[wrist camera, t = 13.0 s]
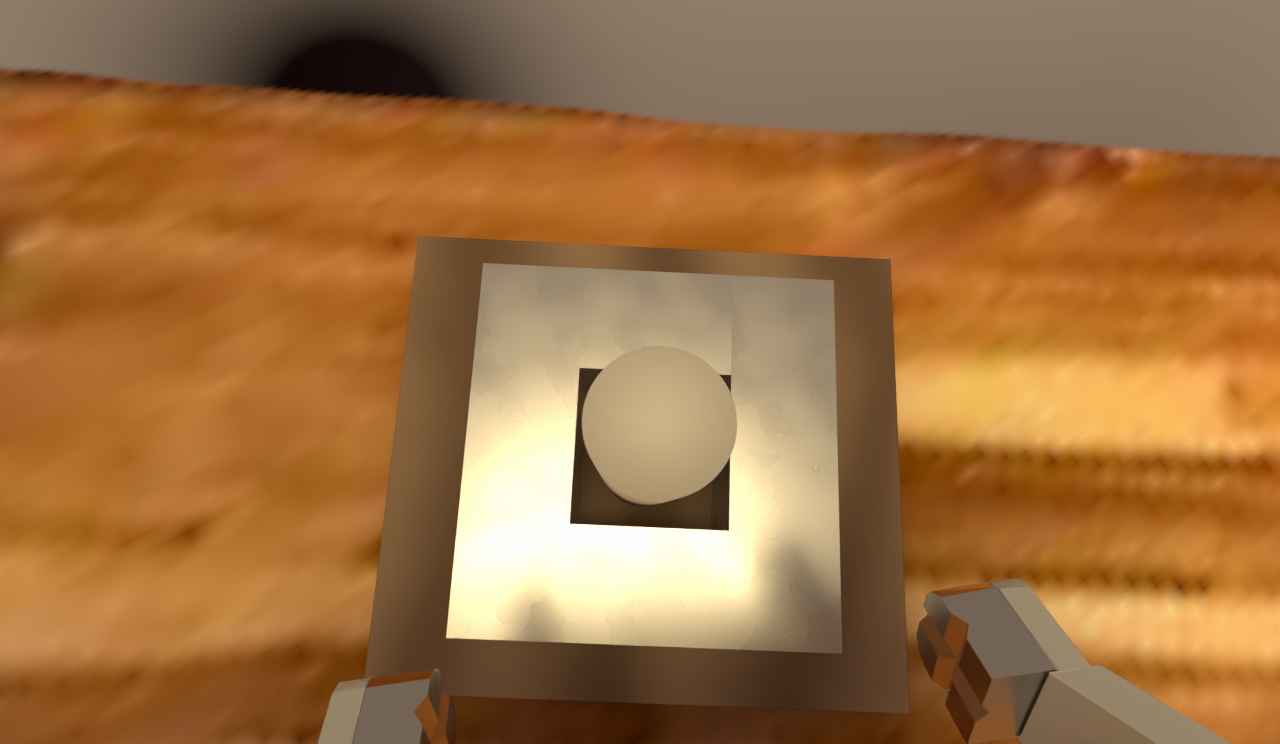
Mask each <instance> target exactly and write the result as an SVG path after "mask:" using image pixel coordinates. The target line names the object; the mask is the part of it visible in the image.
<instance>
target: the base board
mask: <svg viewBox="0 0 1280 744" xmlns="http://www.w3.org/2000/svg"><path fill="white" fill-rule="evenodd" d="M483 263H491V264H512V265H532V266H553V267H573V268H594V269H614V270H634V271H655V272H675V273H696V274H716V275H737V276H757V277H777V278H798V279H818V280H834V312H835V356H836V401H837V445H838V489H839V534H840V578H841V622H842V654H837V653H812V652H786V651H761V650H736V649H711V648H686V647H661V646H636V645H610V644H585V643H560V642H535V641H510V640H485V639H459V638H446V633H447V623H448V613H449V603H450V593H451V583H452V573H453V563H454V552H455V542H456V532H457V522H458V512H459V502H460V492H461V482H462V472H463V462H464V451H465V441H466V431H467V421H468V411H469V401H470V391H471V381H472V371H473V361H474V350H475V340H476V330H477V320H478V310H479V300H480V290H481V280H482V270H483ZM587 394H588V392H587ZM587 394H586V396H587ZM711 500H712V481H711V482H710V483H709V484H707V485H706V486H705V487H703V488H702V489H700V490H698V491H697V492H695V493H692V494H690V495H688V496H685V497H682V498H678V499H675V500H671V501H668V502H665V503H661V504H658V505H654V506H646V507H642V506H635V505H631V504H628V503H626V502H624V501H622V500H620V499H619V498H617V497H616V496H615V495H614V494H613V493H612V492H611V491H610V490H609V489H608V487H607V486H606V484H605V483H604V481H603V479H602V477H601V476H600V474H599V472H598V470H597V469H596V467H595V465H594V463H593V462H592V460H591V458H590V456H589V454H588V451H587V449H586V446H585V442H584V443H583V460H582V477H581V493H580V510H579V522H580V523H603V524H627V525H650V526H674V527H697V528H711ZM436 668H438V669H439V672H440V674H441V676H442V678H443V687H442V692H443V693H445V694H447V695H449V696H464V697H490V698H516V699H542V700H568V701H594V702H620V703H646V704H672V705H699V706H725V707H751V708H777V709H803V710H829V711H855V712H881V713H907V714H910V710H909V687H908V663H907V640H906V616H905V592H904V569H903V545H902V522H901V498H900V474H899V451H898V427H897V404H896V380H895V356H894V333H893V309H892V286H891V262H890V259H870V258H850V257H830V256H810V255H790V254H769V253H749V252H729V251H709V250H689V249H669V248H648V247H628V246H608V245H588V244H568V243H547V242H527V241H507V240H487V239H467V238H446V237H426V236H419V237H418V245H417V253H416V262H415V270H414V278H413V286H412V294H411V302H410V310H409V319H408V327H407V335H406V343H405V351H404V359H403V368H402V376H401V384H400V392H399V400H398V408H397V417H396V425H395V433H394V441H393V449H392V457H391V466H390V474H389V482H388V490H387V498H386V506H385V514H384V523H383V531H382V539H381V547H380V555H379V563H378V572H377V580H376V588H375V596H374V604H373V612H372V621H371V629H370V637H369V645H368V653H367V661H366V669H365V678H370V677H380V676H387V675H394V674H401V673H408V672H415V671H422V670H429V669H436Z"/></svg>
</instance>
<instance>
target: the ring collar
mask: <svg viewBox="0 0 1280 744" xmlns="http://www.w3.org/2000/svg"><path fill="white" fill-rule="evenodd" d="M651 346H666V347H674V348H678V349H682V350H685V351H687V352H690V353H692V354H694V355H696V356H698V357H700V358H701V359H703V360H704V361H705V362H707V363H708V364H709V365H710V366H711V367H713V368H714V369H715V370H716V371H717V373H718V374H719V375H720V376H721V377H722V379H723V380H724V382H725V383H726V385H727V387H728V389H729V391H730V393H731V395H732V398H733V401H734V404H735V408H736V414H737V435H736V440H735V444H734V447H733V450H732V453H731V455H730V457H729V459H728V461H727V463H726V465H725V466H724V468H723V469H722V470H721V472H720V473H719V474H718V475H717V476H716V477H715V478H714V479H713V480H712V500H711V528H697V527H674V526H650V525H627V524H603V523H580V522H579V510H580V493H581V477H582V460H583V443H584V439H583V432H582V413H583V406H584V403H585V399H586V394H587V392H588V391H589V389H590V387H591V385H592V384H593V382H594V380H595V379H596V378H597V376H598V375H599V374H600V372H601V371H602V370H603V369H604V368H605V367H606V366H607V365H608V364H610V363H611V362H612V361H614V360H615V359H617V358H618V357H620V356H622V355H623V354H626V353H628V352H630V351H633V350H636V349H640V348H644V347H651ZM446 638H459V639H485V640H510V641H535V642H560V643H585V644H610V645H636V646H661V647H686V648H711V649H736V650H761V651H786V652H812V653H837V654H842V622H841V578H840V534H839V489H838V445H837V401H836V356H835V312H834V280H818V279H798V278H777V277H757V276H737V275H716V274H696V273H675V272H655V271H634V270H614V269H594V268H573V267H553V266H532V265H512V264H491V263H483V270H482V280H481V290H480V300H479V310H478V320H477V330H476V340H475V350H474V361H473V371H472V381H471V391H470V401H469V411H468V421H467V431H466V441H465V451H464V462H463V472H462V482H461V492H460V502H459V512H458V522H457V532H456V542H455V552H454V563H453V573H452V583H451V593H450V603H449V613H448V623H447V633H446Z"/></svg>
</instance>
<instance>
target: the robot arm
mask: <svg viewBox="0 0 1280 744" xmlns="http://www.w3.org/2000/svg"><path fill="white" fill-rule="evenodd" d="M924 607H925V609H926V610H927V612H928V615H927V616H926V617H925V618H924V619H923V620H921V621H920V622H919V627H918V632H917V640H918V647H919V652H920V655H921V658H922V660H923V663H924V666H925V668H926V669H927V671H928V673H929V675H930V677H931V679H932V680H933V681H935V682H936V683H938V684H939V685H940V686H942V687H943V688H945V689H946V690H947V697H946V704H945V705H946V707H947V709H948V711H949V713H950V715H951V716H952V718H953V720H954V722H955V724H956V726H957V728H958V729H959V731H960V733H961V735H962V737H963V739H964V740H965V742H966V744H978V743H986V742H993V741H1000V740H1007V739H1014V738H1019V740H1018V741H1019V742H1020V743H1021V744H1232V743H1230V742H1228V741H1227V740H1225V739H1223V738H1222V737H1220V736H1218V735H1217V734H1215V733H1213V732H1212V731H1210V730H1208V729H1207V728H1205V727H1203V726H1202V725H1200V724H1198V723H1197V722H1195V721H1193V720H1192V719H1190V718H1188V717H1187V716H1185V715H1183V714H1182V713H1180V712H1178V711H1177V710H1175V709H1173V708H1172V707H1170V706H1168V705H1167V704H1165V703H1163V702H1162V701H1160V700H1158V699H1157V698H1155V697H1153V696H1152V695H1150V694H1148V693H1147V692H1145V691H1143V690H1141V689H1140V688H1138V687H1136V686H1135V685H1133V684H1131V683H1130V682H1128V681H1126V680H1125V679H1123V678H1121V677H1120V676H1118V675H1116V674H1115V673H1113V672H1111V671H1110V670H1108V669H1106V668H1105V667H1103V666H1101V665H1100V664H1097V665H1090V664H1089V663H1088V662H1087V660H1086V659H1085V658H1084V656H1083V655H1082V654H1081V653H1080V651H1079V650H1078V649H1077V647H1076V646H1075V645H1074V644H1073V642H1072V641H1071V640H1070V638H1069V637H1068V636H1067V635H1066V633H1065V632H1064V631H1063V629H1062V628H1061V627H1060V626H1059V624H1058V623H1057V622H1056V621H1055V619H1054V618H1053V617H1052V615H1051V614H1050V613H1049V612H1048V610H1047V609H1046V608H1045V606H1044V605H1043V604H1042V603H1041V601H1040V600H1039V599H1038V597H1037V596H1036V595H1035V594H1034V592H1033V591H1032V590H1031V588H1030V587H1029V586H1028V585H1027V583H1025V582H1024V581H1022V580H1021V579H1015V578H1012V579H1007V580H1001V581H995V582H989V583H986V582H984V583H978V584H972V585H966V586H960V587H955V588H949V589H943V590H937V591H932V592H930V593H929V594H928V595H927V596H926V599H925V603H924ZM442 687H443V678H442V676H441V674H440V672H439V669H438V668H436V669H429V670H422V671H415V672H408V673H401V674H394V675H387V676H380V677H370V678H364V679H357V680H351V681H345V682H339V683H338V685H337V687H336V688H335V690H334V692H333V693H332V695H331V699H330V702H329V706H328V709H327V712H326V716H325V719H324V723H323V726H322V730H321V733H320V737H319V740H318V744H456V717H455V711H454V706H453V703H452V700H451V698H450V696H449V695H447V694H445V693H443V692H442Z"/></svg>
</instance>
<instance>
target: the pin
mask: <svg viewBox="0 0 1280 744" xmlns="http://www.w3.org/2000/svg"><path fill="white" fill-rule="evenodd" d="M582 432H583V439H584V442H585V446H586V449H587V451H588V454H589V456H590V458H591V460H592V462H593V463H594V465H595V467H596V469H597V470H598V472H599V474H600V476H601V477H602V479H603V481H604V483H605V484H606V486H607V487H608V489H609V490H610V491H611V492H612V493H613V494H614V495H615V496H616V497H617V498H619V499H620V500H622V501H624V502H626V503H628V504H631V505H635V506H642V507H646V506H654V505H658V504H661V503H665V502H668V501H671V500H675V499H678V498H682V497H685V496H688V495H690V494H692V493H695V492H697V491H698V490H700V489H702V488H703V487H705V486H706V485H707V484H709V483H710V482H711V481H712V480H713V479H714V478H715V477H716V476H717V475H718V474H719V473H720V472H721V470H722V469H723V468H724V466H725V465H726V463H727V461H728V459H729V457H730V455H731V453H732V450H733V447H734V444H735V440H736V435H737V414H736V408H735V404H734V401H733V398H732V395H731V393H730V391H729V389H728V387H727V385H726V383H725V382H724V380H723V379H722V377H721V376H720V375H719V374H718V373H717V371H716V370H715V369H714V368H713V367H711V366H710V365H709V364H708V363H707V362H705V361H704V360H703V359H701V358H700V357H698V356H696V355H694V354H692V353H690V352H687V351H685V350H682V349H678V348H674V347H666V346H651V347H644V348H640V349H636V350H633V351H630V352H628V353H626V354H623V355H622V356H620V357H618V358H617V359H615V360H614V361H612V362H611V363H610V364H608V365H607V366H606V367H605V368H604V369H603V370H602V371H601V372H600V374H599V375H598V376H597V378H596V379H595V380H594V382H593V384H592V385H591V387H590V389H589V391H588V394H587V396H586V399H585V403H584V406H583V413H582Z"/></svg>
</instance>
